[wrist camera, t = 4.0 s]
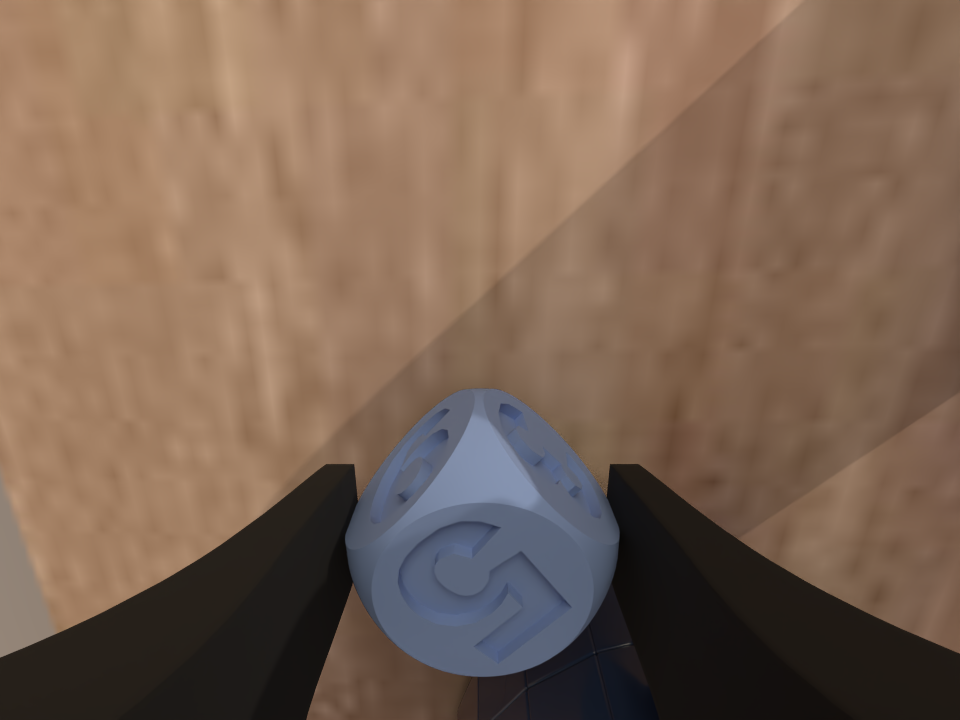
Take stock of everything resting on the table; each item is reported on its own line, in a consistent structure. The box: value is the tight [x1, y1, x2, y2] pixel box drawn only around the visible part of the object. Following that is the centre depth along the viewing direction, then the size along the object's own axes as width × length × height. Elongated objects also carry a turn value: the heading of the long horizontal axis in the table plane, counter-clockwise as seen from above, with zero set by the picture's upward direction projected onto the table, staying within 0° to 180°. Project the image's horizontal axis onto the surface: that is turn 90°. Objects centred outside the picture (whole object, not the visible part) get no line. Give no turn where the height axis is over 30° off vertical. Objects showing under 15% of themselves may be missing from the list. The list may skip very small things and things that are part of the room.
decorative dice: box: [345, 389, 620, 677], centre depth 11 cm, size 4×4×4 cm
